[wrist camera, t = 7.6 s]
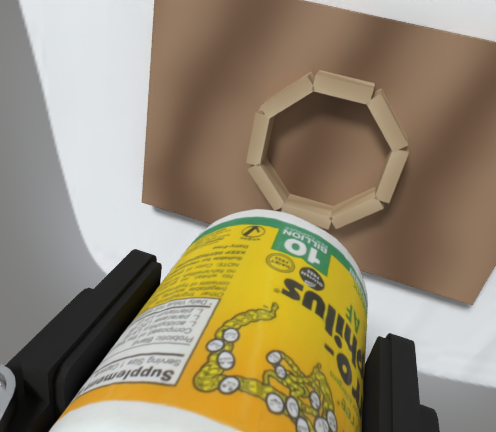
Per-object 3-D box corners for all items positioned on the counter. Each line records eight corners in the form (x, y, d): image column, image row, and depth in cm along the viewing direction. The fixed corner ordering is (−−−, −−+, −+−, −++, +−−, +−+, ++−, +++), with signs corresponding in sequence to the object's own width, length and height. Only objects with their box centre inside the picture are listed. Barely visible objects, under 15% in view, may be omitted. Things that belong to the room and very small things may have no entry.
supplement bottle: (158, 237, 13) (-234, 655, 5) (320, 173, 11) (102, 775, 2) (241, 369, 14) (54, 856, 6) (399, 338, 12) (428, 1046, 4)
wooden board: (599, 64, 20) (627, 73, 18) (468, 293, 27) (476, 321, 25) (166, -30, 23) (142, -32, 21) (149, 195, 30) (130, 211, 28)
